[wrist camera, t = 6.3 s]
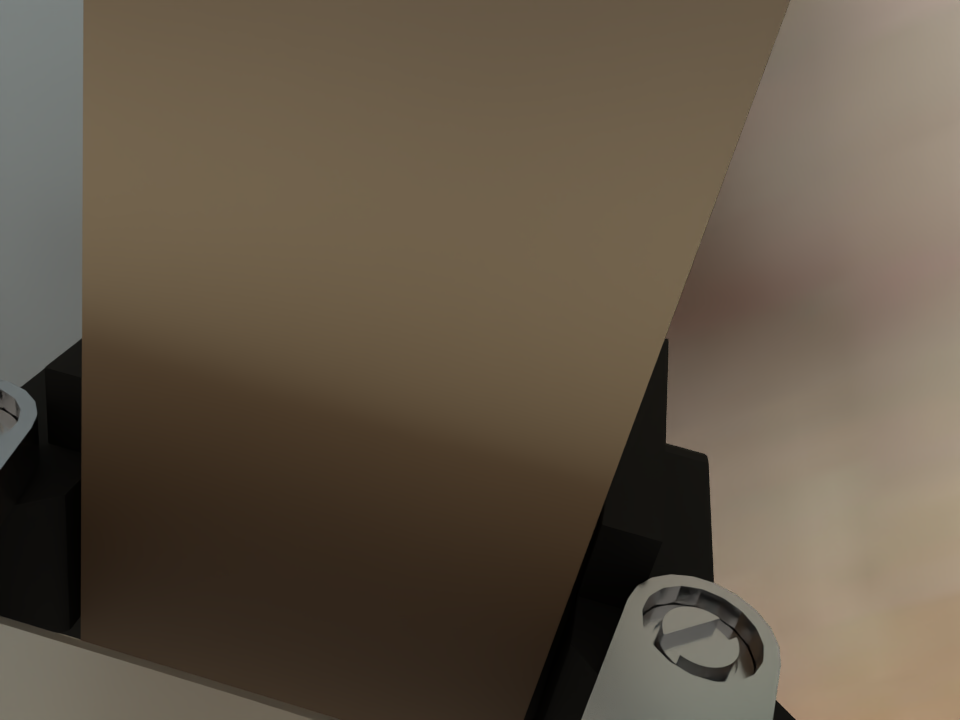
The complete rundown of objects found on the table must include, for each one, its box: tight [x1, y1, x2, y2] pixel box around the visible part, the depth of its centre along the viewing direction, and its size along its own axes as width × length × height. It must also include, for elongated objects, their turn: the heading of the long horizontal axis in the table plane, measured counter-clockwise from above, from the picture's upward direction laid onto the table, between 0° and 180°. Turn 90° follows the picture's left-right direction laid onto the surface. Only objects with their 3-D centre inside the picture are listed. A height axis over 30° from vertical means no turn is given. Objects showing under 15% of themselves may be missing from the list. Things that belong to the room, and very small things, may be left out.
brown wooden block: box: [81, 0, 790, 720], centre depth 10 cm, size 20×4×5 cm, turn 167°
